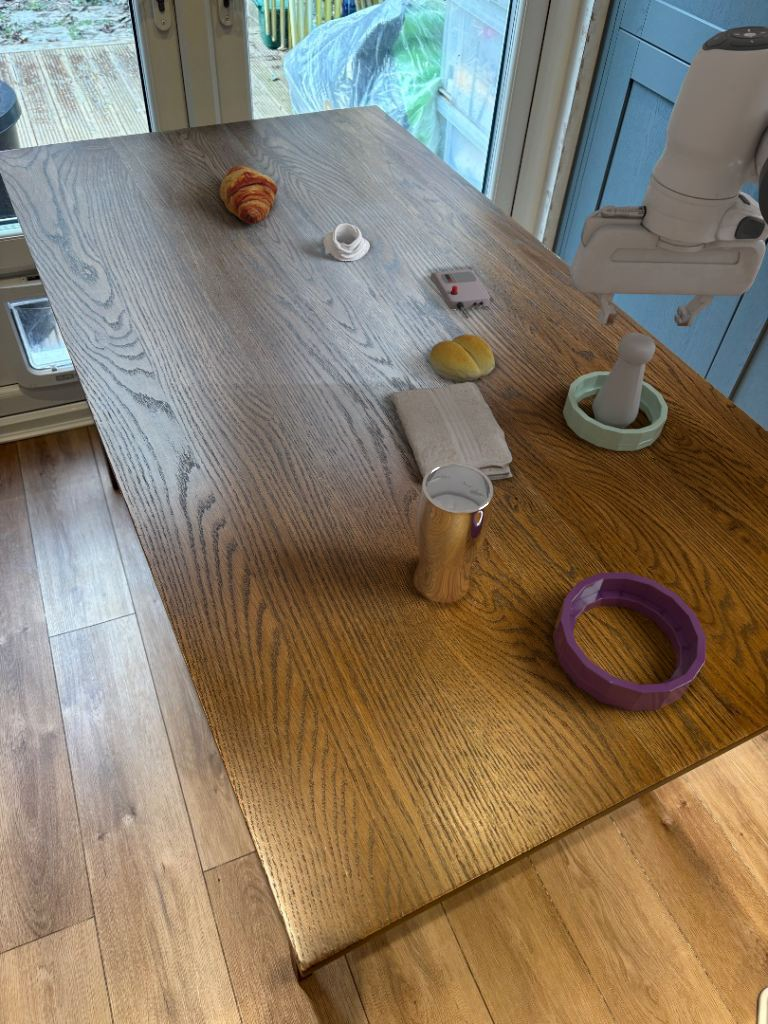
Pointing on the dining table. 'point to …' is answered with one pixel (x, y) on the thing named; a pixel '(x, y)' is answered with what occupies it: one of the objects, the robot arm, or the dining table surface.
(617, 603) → the purple bangle bracelet
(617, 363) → the grey pawn peg
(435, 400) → the washcloth
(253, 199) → the croissant
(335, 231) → the white ruffled cup
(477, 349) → the bread roll
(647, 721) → the dining table surface
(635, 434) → the green faceted bangle
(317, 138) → the dining table surface
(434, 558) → the shiny metal tumbler
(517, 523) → the dining table surface
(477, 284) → the grey electronic control box
